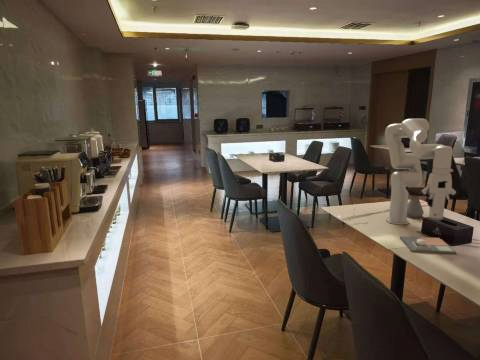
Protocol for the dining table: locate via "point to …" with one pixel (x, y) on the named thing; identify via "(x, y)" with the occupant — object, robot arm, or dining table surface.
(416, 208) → the coffee pot
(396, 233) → the dining table surface
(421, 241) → the button
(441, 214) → the travel mug
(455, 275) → the dining table surface
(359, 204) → the dining table surface
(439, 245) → the picture board
